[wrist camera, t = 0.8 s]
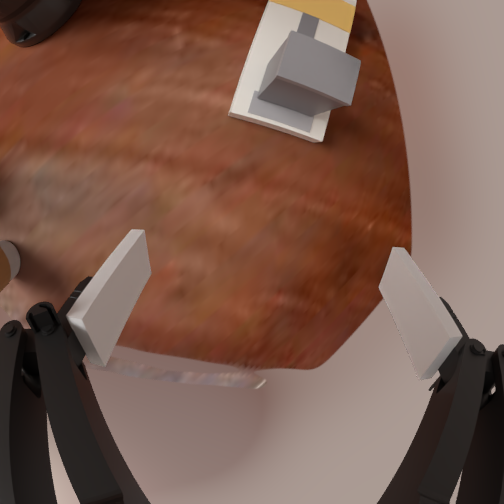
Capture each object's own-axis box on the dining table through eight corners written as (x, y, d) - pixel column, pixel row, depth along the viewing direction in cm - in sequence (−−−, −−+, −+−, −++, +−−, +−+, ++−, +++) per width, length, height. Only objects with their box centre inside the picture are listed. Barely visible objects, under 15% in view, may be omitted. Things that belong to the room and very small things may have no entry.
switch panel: (313, 142, 35) (322, 141, 32) (227, 115, 32) (230, 111, 29) (348, 6, 28) (357, -1, 25) (277, -22, 25) (282, -32, 22)
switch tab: (311, 117, 31) (350, 105, 21) (255, 98, 29) (277, 75, 20) (320, 82, 29) (361, 61, 20) (267, 62, 27) (291, 30, 18)
